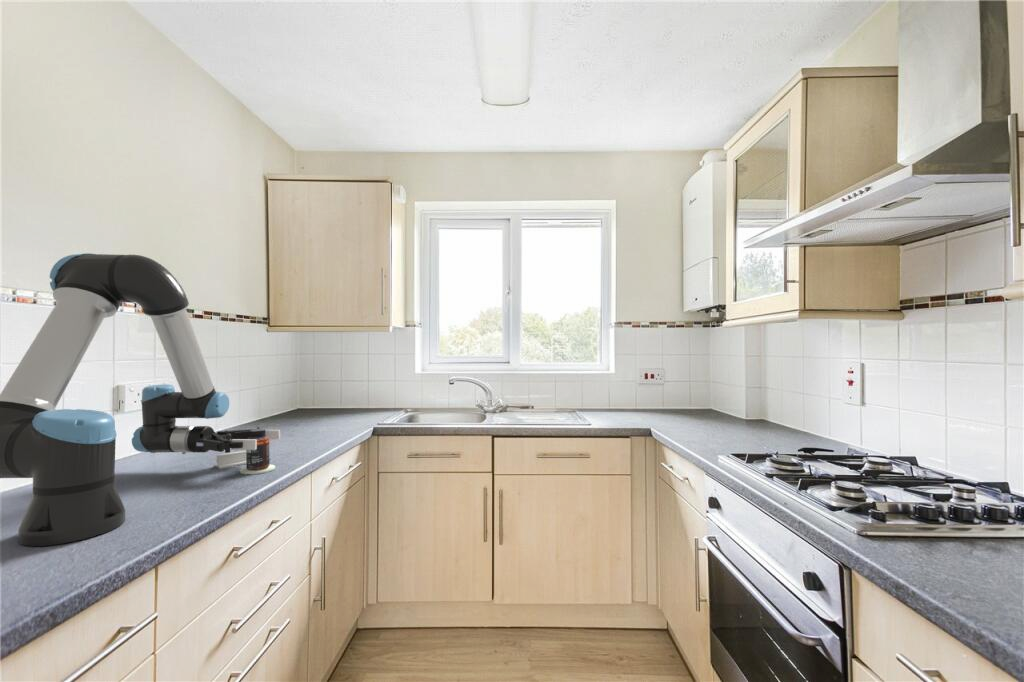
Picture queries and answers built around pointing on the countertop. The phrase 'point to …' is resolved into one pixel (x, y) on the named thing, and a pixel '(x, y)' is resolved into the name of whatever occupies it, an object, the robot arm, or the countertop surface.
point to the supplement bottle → (258, 451)
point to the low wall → (231, 459)
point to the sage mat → (268, 469)
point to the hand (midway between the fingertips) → (268, 439)
